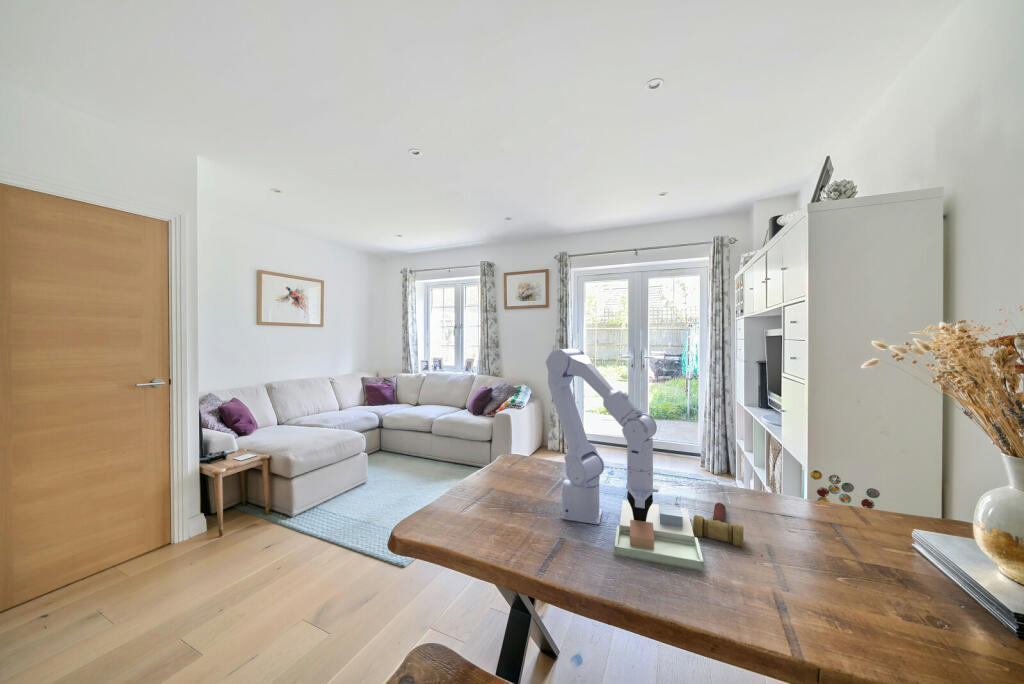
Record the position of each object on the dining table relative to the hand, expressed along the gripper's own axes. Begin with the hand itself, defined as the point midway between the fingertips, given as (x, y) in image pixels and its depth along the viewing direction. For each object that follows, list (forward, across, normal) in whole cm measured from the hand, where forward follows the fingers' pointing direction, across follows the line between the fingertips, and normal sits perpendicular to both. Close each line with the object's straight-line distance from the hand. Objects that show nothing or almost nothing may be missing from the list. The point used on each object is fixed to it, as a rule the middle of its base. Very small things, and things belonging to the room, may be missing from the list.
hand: (639, 524), depth 87 cm
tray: (+3, -5, -4) cm, 7 cm away
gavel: (+3, +13, -19) cm, 23 cm away
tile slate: (+1, +6, -7) cm, 9 cm away
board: (+3, +7, -4) cm, 8 cm away
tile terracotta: (+2, -3, 0) cm, 3 cm away
